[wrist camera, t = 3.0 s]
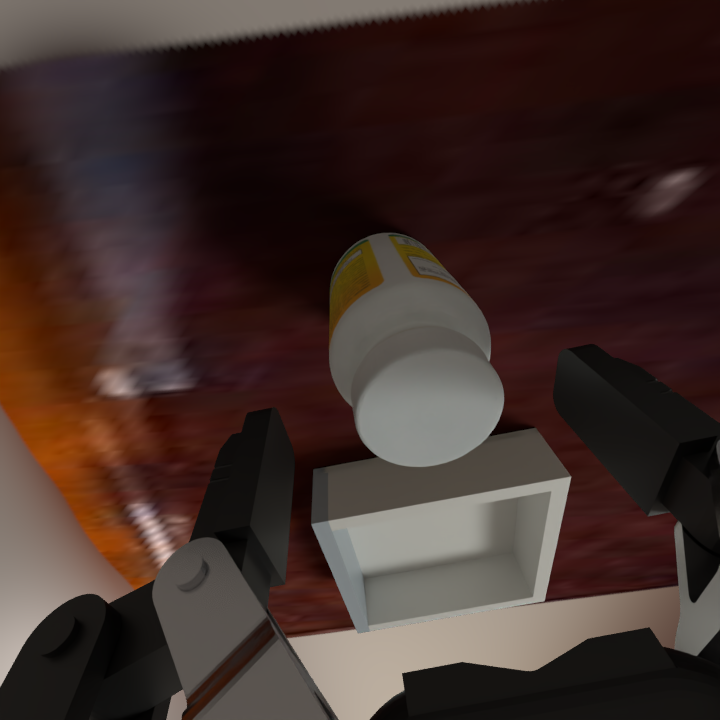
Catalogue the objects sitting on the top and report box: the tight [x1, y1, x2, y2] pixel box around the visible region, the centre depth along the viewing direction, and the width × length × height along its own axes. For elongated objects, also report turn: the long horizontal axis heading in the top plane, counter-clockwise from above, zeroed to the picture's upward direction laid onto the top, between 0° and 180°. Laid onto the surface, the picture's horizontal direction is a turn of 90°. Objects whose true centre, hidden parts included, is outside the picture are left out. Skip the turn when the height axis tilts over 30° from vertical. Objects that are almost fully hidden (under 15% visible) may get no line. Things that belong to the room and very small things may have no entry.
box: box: [311, 428, 571, 633], centre depth 26 cm, size 15×15×4 cm
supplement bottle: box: [329, 233, 504, 467], centre depth 13 cm, size 5×5×10 cm
